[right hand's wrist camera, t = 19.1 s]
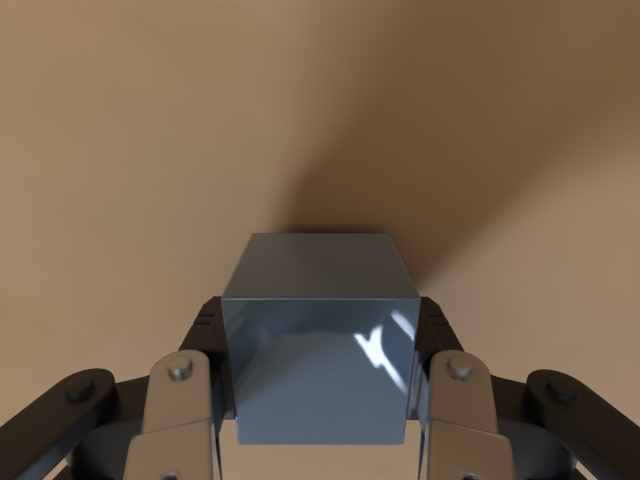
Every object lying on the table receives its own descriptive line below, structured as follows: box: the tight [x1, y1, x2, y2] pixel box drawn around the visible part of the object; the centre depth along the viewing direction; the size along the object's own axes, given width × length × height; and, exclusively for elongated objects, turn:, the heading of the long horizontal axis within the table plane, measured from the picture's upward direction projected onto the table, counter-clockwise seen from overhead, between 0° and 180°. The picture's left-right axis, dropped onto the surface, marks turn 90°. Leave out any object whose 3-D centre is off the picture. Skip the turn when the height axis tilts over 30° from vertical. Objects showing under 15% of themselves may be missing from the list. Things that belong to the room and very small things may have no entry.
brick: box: [221, 233, 421, 445], centre depth 11 cm, size 5×4×4 cm
